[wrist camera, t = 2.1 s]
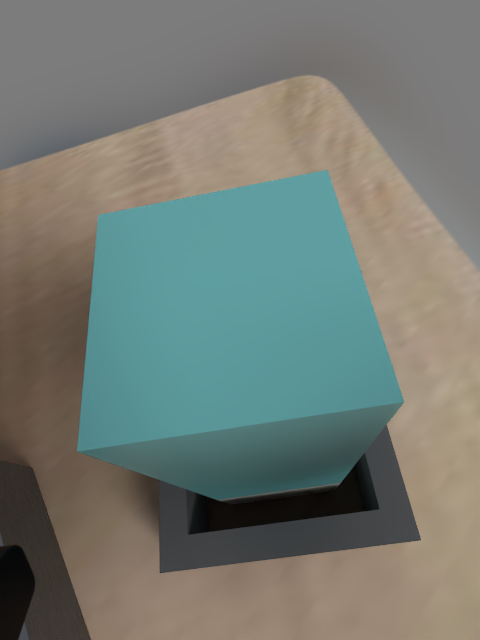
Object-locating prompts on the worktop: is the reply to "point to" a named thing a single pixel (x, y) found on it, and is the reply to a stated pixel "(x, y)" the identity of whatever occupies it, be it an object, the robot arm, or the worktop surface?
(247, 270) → the plug
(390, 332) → the worktop surface
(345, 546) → the holster
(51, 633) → the port
